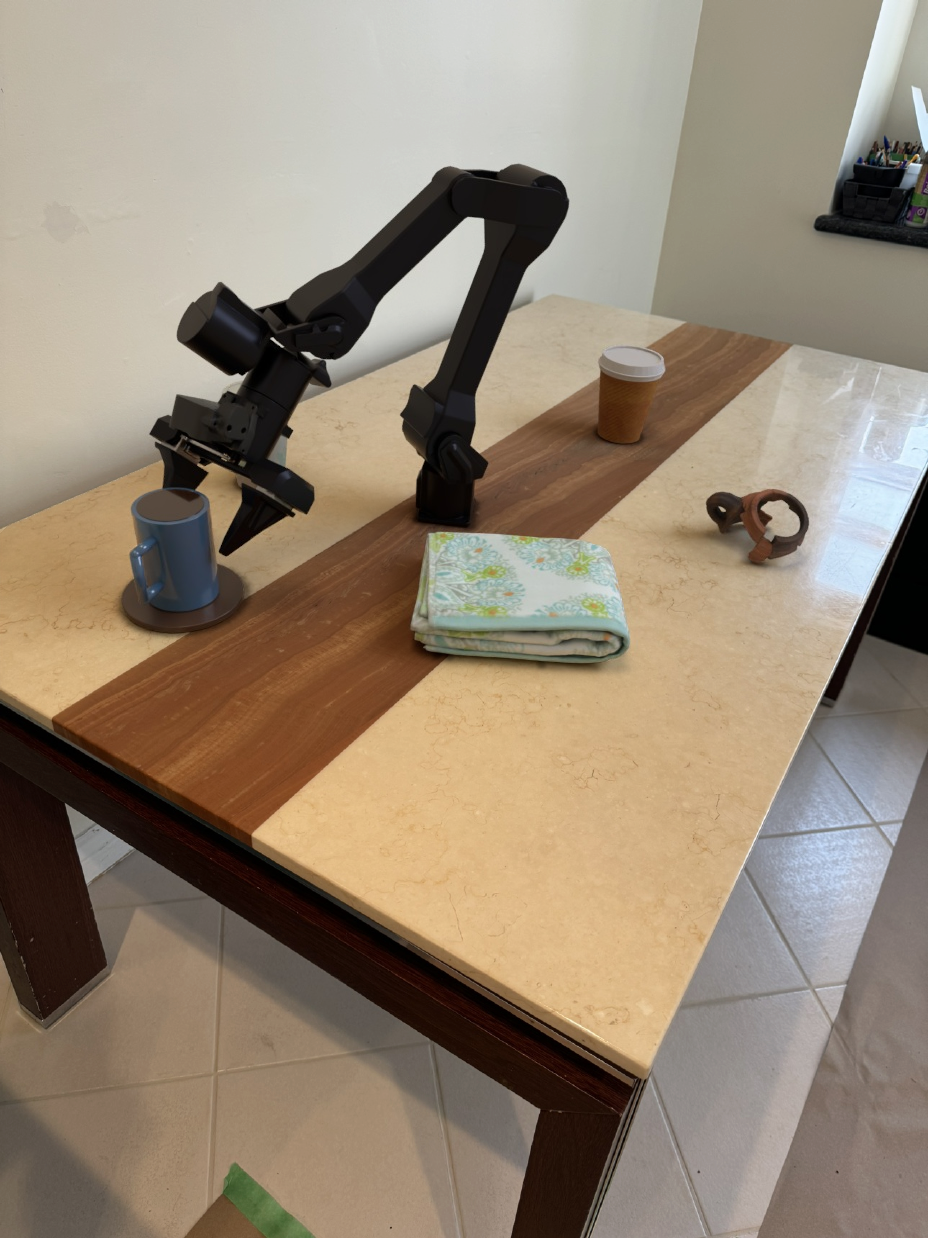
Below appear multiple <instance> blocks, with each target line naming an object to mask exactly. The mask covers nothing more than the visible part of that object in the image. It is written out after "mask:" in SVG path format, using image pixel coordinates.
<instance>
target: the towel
mask: <svg viewBox="0 0 928 1238" xmlns="http://www.w3.org/2000/svg"><path fill="white" fill-rule="evenodd" d="M425 539H426V542H425V547H424V555H423V557H422V563H421V568H420V575H419V584H418V591H417V596H416V600H415V603H414V604H415V605H414V607H413V612H412V615H411V622H410V631H413V632H414V639H413V640H415V641H418V642H420V643H421V644H424V646H423V649H425V650H426V651H427V652H433V653H441V654H448V655H457V656H471V657H472V656H473V657H485V658H486V657H487V658H505V659H517V660H527V661H528V660H529V661H541V662H553V663H555V662H557V663H567V664H568V663H569V664H570V663H572V664H590V663H592V664H593V663H602V662H607V661H610V660H614V659H618V658H621V657H622V656H623V655H625V654H626V652H627V651H628V650H629V648H630V646H631V637H630V628H629V625H628V620H627V616H626V612H625V608H624V607H625V606H624V603H623V600H622V593H621V589H620V584H619V581H618V578H617V573H616V570H615V569H616V568H615V564H614V562H613V558H612V556H611V554H610V552H609V550H608V549H607V548H605V547H604V546H601V545H600V544H595V543H591V542H589V541H587V540H583V539H573V538H564V537H561V538H559V537H537V536H528V535H527V536H523V535H514V534H502V533H501V534H500V533H483V532H481V533H478V532H477V533H476V532H453V531H436V532H428V533H427V535H426V538H425Z"/></svg>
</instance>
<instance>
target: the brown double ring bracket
mask: <svg viewBox="0 0 928 1238" xmlns="http://www.w3.org/2000/svg"><path fill="white" fill-rule="evenodd" d="M778 501H783V502H784V503H785V504H787V506H788V510H789V511H791V512H792V513H794V514H795V515H796V516H797V517H798V521H799V528H798V530H797V532H796V533H795V534H792V535H790V536H782V535H777V534H775V535H774V536H773V537H772V540H770V539H768V538H766V537H765V534H766V533H767V532H768V531H767V528H766V526H767V525H768V524H769V522H771V521H772V520H773V516H772V515H770V514H769V513H766V512H765V511H764V510H763V509H762V508H763V507H764V506H765V505H767V504H768V503H769V502H770V503H774V502H778ZM705 508H706V512H707V515H708V517H709V518H710V519H711V521H713V523H715V524H716V526H717V527H718V531H719V533H720V534H722V535H724V534H725V533H726V531H727V530H728V529H729V528H730V527H731V526H733V525H735V524H739V523H742V524H743V527H745V529H746V531H747V533H748V535H749V537H750V538H751V540H752V541H753V542H754V543H755V544H756V545H755V546H754V548H753V549H752V550H751V551H750V552H748V553H747V559H748V560H750V561H751V562H753V563H755V564H760V563H763V562H765V561H766V560H767V559H768V560H776V559H779V558H782V557H786V556H788V555H791V554H792V553H795V552H796V551H797V550H798V547H800V546H802V544H803V542H804V540H805V537H806V534H807V533H808V531H809V526H810V517H809V514H808V511H807V509H806V507H805V506H804V504H803V503H802V502H801V500H799V498H797V497H796V496H794V495H793V494H791V493H789V492H787V491H784V490H781V489H776V488H767V489H764V490H763V489H762V490H760V491H755V492H752V493H751V492H750V493H748V494H746V495H744V496H738V495H736V494H734V493H732V492H729V491H728V492H727V491H716V492H714V493H713V494H711V495H709V497H707V499H706V501H705ZM721 508H722V509H723V510H725V511H722V510H721Z"/></svg>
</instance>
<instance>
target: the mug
mask: <svg viewBox="0 0 928 1238" xmlns="http://www.w3.org/2000/svg"><path fill="white" fill-rule="evenodd" d="M211 511H212V510H211V503H210V499H209V498H208V496H206V495H205V494H204V493H202V492H200V491H199V490H197V489H196V490H193V489H188V488H163V489H162V488H158V489H154V490H150V491H148V492H146V493H143V494H141V495H140V496H138V497H136V499H134V501H133V502H132V504H131V506H130V513H131V519H132V523H133V524H132V525H133V529H134V537H135V539H136V540H135V541H136V546H135V547H134V548H132V550H130V551H129V555H128V556H129V561H130V566H131V572H132V577H133V579H134V582H135V588H136V593H137V598H138V602H139V603H140V604H142V605H145V604H147V603H148V602H150V603H151V604H152V605H153V606H155V607H157V608H159V609H162V610H166V611H172V612H183V611H190V610H195V609H198V608H201V607H203V606H205V605H207V604H209V603H210V602H212V601H213V600H214V599H215V598H216V597H217V595H218V594H219V591H220V586H219V578H218V569H217V564H218V561H217V553H216V545H215V538H214V528H213V520H212V512H211Z"/></svg>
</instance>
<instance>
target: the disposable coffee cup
mask: <svg viewBox="0 0 928 1238" xmlns="http://www.w3.org/2000/svg"><path fill="white" fill-rule="evenodd" d="M597 364H598V367H599V389H598V390H599V391H598V392H599V393H598V412H597V413H598V416H597V420H598V421H597V434H598V436H599V437H600V438H602V439H604V440H606V441H609V442H612V443H617V444H632V443H636V442H637V441H639V440H640V439H641V435H642V432H643V428H644V426H645V423H646V420H647V417H648V415H649V412H650V409H651V406H652V403H653V400H654V397H655V393H656V391H657V387H658V385H659V383H660V379H661V378H662V377H663V375H664V374H665V372H666V366H665V359H664V357H663V355H662V354H661V353H659V352H657V351H655V350H654V349H653V350H652V349H651V348H650V349H649V348H647V347H643V346H637V345H629V344H618V345H617V344H616V345H611V346H608V347H605V349H603V351H602V353H601V356H599V358H598V360H597Z"/></svg>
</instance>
